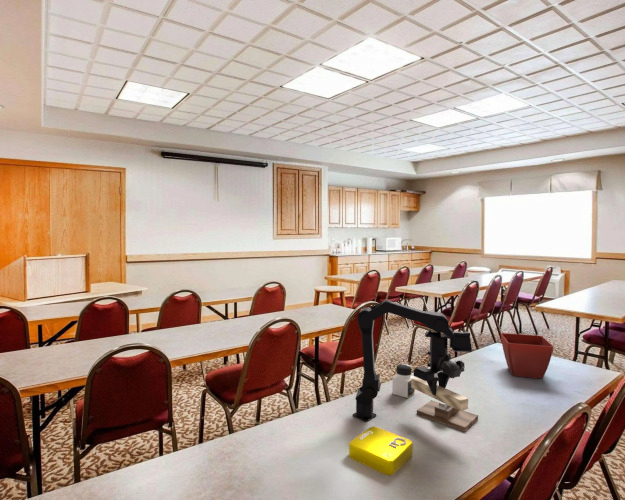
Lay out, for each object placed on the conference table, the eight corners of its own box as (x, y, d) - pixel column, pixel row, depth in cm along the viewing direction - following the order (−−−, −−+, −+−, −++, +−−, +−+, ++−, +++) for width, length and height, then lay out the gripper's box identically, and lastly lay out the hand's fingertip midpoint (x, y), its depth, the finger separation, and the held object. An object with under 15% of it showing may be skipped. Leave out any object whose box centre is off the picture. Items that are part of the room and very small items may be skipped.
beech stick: (468, 408, 125) (468, 398, 125) (460, 411, 123) (461, 400, 123) (418, 385, 144) (418, 376, 144) (411, 387, 142) (411, 378, 142)
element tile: (372, 437, 126) (372, 423, 126) (414, 455, 116) (415, 439, 116) (346, 457, 115) (346, 441, 115) (390, 478, 105) (390, 461, 105)
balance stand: (465, 431, 130) (465, 412, 130) (416, 414, 142) (417, 396, 142) (478, 419, 139) (478, 401, 138) (431, 403, 151) (431, 387, 151)
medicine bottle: (408, 398, 156) (408, 369, 155) (391, 394, 160) (392, 365, 159) (414, 392, 161) (415, 364, 161) (399, 388, 166) (399, 361, 165)
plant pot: (506, 377, 180) (507, 342, 179) (499, 364, 198) (500, 332, 197) (552, 382, 174) (554, 346, 173) (540, 368, 192) (542, 335, 192)
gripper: (438, 360, 121) (437, 409, 122) (476, 352, 130) (475, 396, 131) (412, 351, 131) (412, 396, 131) (449, 343, 140) (449, 385, 141)
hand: (438, 394), depth 133 cm, fingers closed on beech stick, 3 cm apart
